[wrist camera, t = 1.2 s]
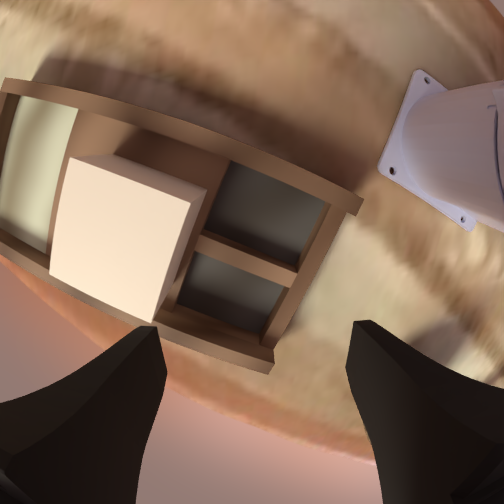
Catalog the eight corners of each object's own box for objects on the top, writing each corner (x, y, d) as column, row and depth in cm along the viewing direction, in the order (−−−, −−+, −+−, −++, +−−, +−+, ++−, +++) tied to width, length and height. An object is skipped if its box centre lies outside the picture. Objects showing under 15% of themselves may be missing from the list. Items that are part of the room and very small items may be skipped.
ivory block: (207, 189, 16) (190, 203, 11) (173, 283, 17) (151, 323, 13) (112, 154, 15) (69, 157, 11) (88, 246, 17) (49, 274, 12)
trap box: (346, 191, 17) (364, 199, 14) (266, 347, 21) (267, 374, 18) (30, 82, 14) (4, 77, 11) (-1, 227, 18) (-24, 237, 15)
